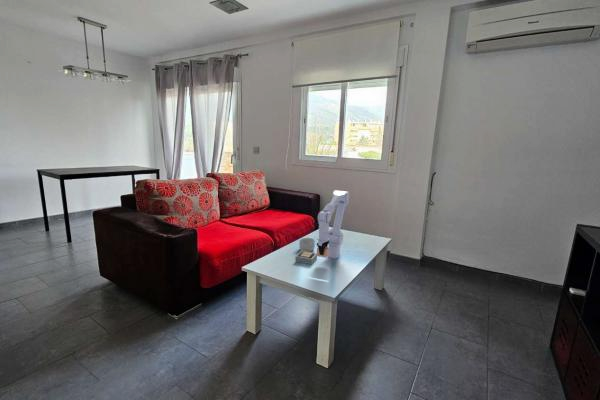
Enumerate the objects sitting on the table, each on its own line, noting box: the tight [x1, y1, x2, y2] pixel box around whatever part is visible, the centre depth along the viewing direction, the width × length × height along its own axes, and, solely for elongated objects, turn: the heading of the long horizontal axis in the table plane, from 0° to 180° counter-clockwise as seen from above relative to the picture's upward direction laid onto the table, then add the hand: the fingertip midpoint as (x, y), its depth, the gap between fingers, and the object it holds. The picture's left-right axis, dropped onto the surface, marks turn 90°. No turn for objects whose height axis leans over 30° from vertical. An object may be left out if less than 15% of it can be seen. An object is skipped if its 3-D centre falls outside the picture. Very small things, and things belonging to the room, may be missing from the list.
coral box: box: [316, 246, 329, 258], centre depth 169 cm, size 4×6×5 cm
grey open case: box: [298, 236, 316, 252], centre depth 195 cm, size 14×11×8 cm
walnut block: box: [300, 252, 314, 259], centre depth 175 cm, size 6×6×4 cm
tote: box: [294, 250, 318, 266], centre depth 175 cm, size 11×11×4 cm
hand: (322, 253), depth 169 cm, fingers closed on coral box, 4 cm apart
